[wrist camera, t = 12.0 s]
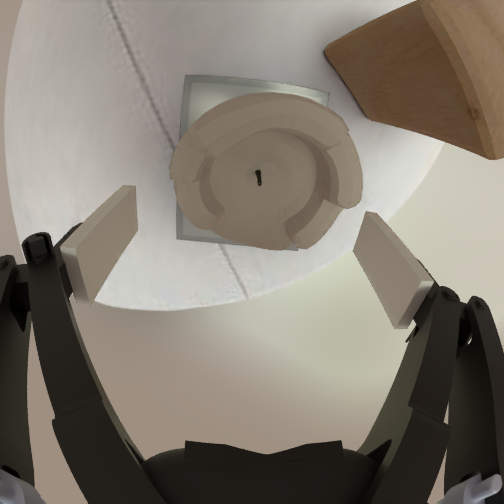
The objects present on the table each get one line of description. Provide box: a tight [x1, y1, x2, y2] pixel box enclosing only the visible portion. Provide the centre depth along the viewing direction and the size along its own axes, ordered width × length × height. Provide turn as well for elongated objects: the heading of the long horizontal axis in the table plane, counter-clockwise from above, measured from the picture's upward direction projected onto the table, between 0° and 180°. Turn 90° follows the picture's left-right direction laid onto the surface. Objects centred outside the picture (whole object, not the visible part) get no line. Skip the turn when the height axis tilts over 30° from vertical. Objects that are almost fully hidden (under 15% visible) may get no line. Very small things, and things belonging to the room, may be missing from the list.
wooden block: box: [324, 0, 504, 160], centre depth 15 cm, size 10×10×20 cm
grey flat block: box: [177, 75, 330, 251], centre depth 28 cm, size 18×14×3 cm
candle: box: [169, 92, 363, 250], centre depth 18 cm, size 7×14×20 cm, turn 171°
